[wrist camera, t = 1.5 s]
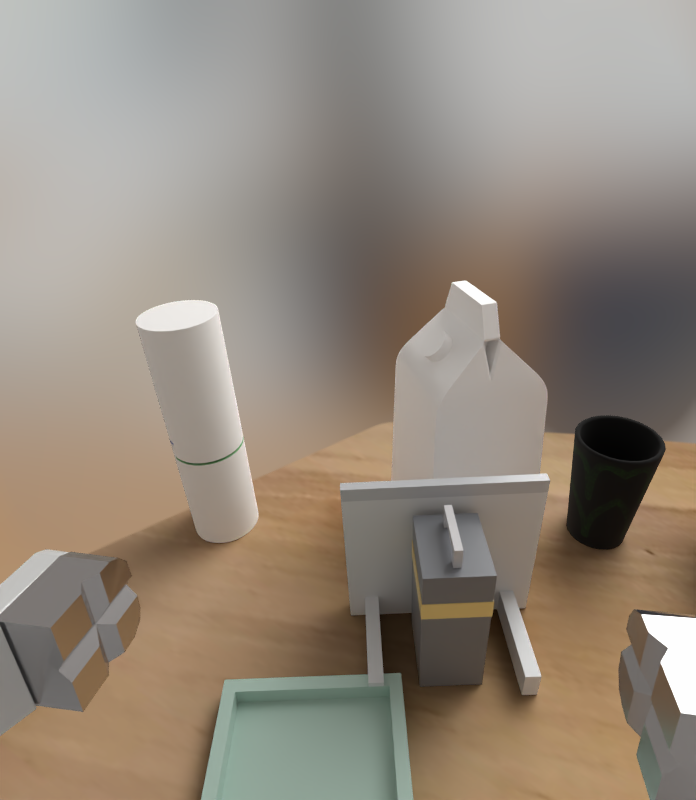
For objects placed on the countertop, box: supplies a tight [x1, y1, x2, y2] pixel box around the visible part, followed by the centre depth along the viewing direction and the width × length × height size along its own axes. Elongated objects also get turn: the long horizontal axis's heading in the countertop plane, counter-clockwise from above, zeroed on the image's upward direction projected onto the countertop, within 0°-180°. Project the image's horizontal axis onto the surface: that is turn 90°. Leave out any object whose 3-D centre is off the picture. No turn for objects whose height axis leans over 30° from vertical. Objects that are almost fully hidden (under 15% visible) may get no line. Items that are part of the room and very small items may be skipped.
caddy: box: [411, 505, 497, 687], centre depth 41 cm, size 5×6×15 cm
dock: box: [340, 474, 550, 695], centre depth 41 cm, size 16×9×15 cm, turn 90°
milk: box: [391, 281, 548, 481], centre depth 51 cm, size 12×12×26 cm
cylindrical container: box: [136, 300, 258, 543], centre depth 53 cm, size 7×7×25 cm
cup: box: [567, 416, 666, 549], centre depth 52 cm, size 8×8×12 cm
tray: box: [201, 673, 413, 800], centre depth 36 cm, size 14×14×2 cm
